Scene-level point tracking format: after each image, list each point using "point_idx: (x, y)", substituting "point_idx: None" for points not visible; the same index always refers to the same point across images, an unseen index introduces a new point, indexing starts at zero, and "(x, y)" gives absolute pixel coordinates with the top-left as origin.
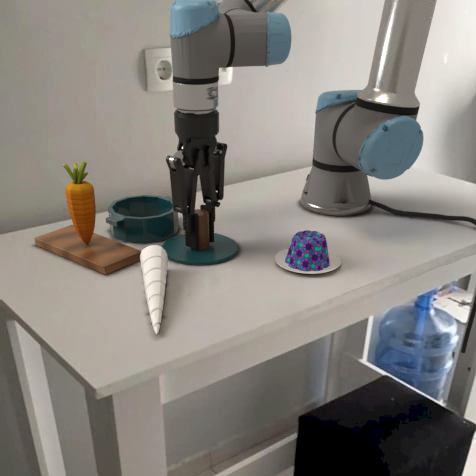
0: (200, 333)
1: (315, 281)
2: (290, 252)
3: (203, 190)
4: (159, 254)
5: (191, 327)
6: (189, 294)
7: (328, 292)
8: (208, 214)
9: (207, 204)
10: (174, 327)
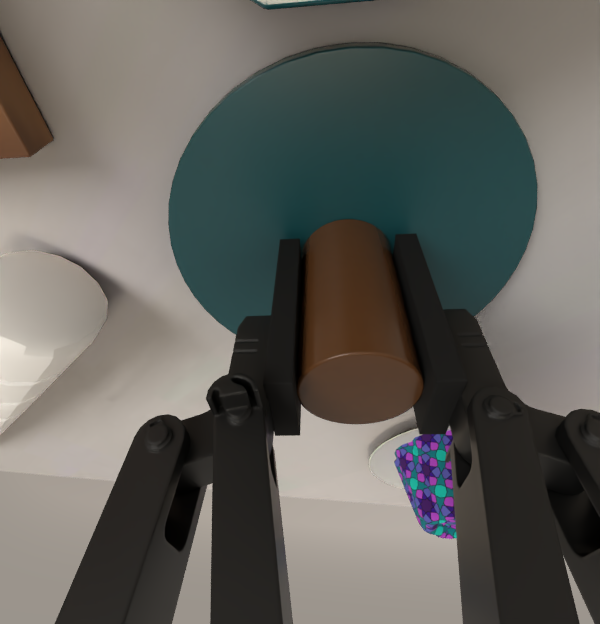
0: (70, 463)
1: (373, 478)
2: (424, 470)
3: (476, 515)
4: (29, 378)
5: (61, 451)
6: (114, 398)
7: (348, 495)
8: (377, 419)
9: (457, 415)
10: (28, 440)
